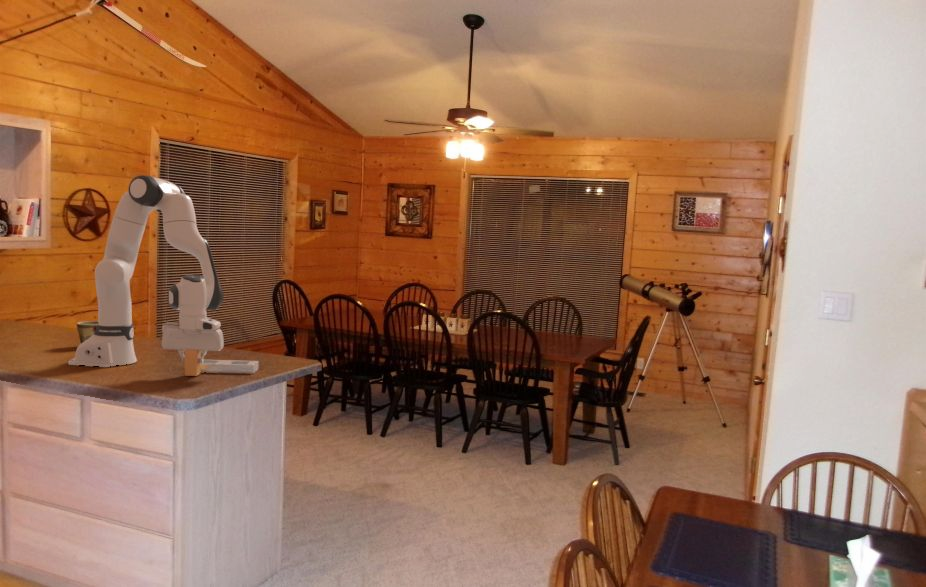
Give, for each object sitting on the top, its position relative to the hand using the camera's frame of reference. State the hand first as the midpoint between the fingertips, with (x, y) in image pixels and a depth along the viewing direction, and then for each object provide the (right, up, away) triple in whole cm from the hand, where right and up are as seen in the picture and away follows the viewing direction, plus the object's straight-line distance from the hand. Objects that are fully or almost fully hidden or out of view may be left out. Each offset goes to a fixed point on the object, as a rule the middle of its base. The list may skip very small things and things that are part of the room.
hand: (192, 362), depth 247 cm
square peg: (0, -4, 0) cm, 4 cm away
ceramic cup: (-58, +2, +46) cm, 74 cm away
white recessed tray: (+8, -4, +10) cm, 13 cm away
